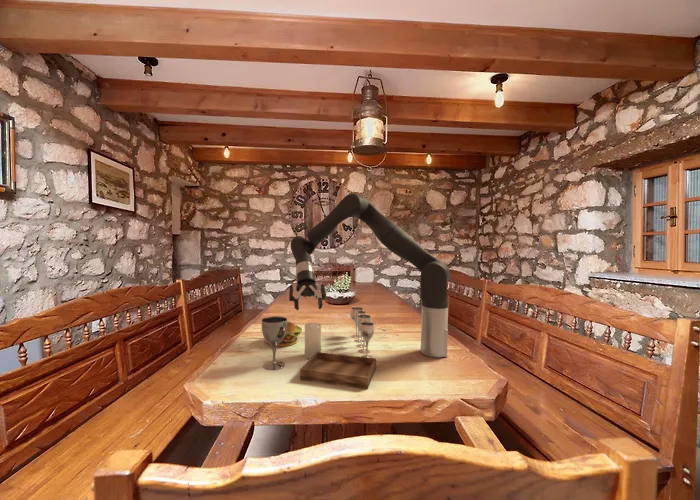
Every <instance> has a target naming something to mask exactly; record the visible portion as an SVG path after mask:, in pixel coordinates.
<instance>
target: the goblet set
mask: <svg viewBox="0 0 700 500" xmlns="http://www.w3.org/2000/svg"><path fill="white" fill-rule="evenodd" d="M349 316H350V319H351V320H352V321H353V322H354V324H355V329H356V331H355V333H356V334H352V335H351V336H350V337H351V338H352V339H354V340H353V342H354V343H358V344H357V345H355V347H356V348H358V350H357V353H359V354H361V355H360V357H367V358H374V357H373V356H372V355H371V354H370V353H371V351H370V350H369V349H368V348H369V343H370V341H371V339H372V338H373V336H374V334H375V325H374V322H372V316H371V315H370V314H369V315H368V314H367V312H366V311H365V310H364V309H363V307H360V306H353V307H351V309H350V312H349Z"/></svg>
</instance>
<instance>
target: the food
mask: <svg viewBox="0 0 700 500" xmlns="http://www.w3.org/2000/svg"><path fill="white" fill-rule="evenodd" d="M302 332H303V329H302V327H299V326H298V325H296V323H293V322H291V321H288V320H287V329H286V334H285V337H284V338H283V339H282V341H281V342H280V343H279V344H278V346H277V348H278V347H279V348H281V347H289V346H293V345H295V344H297V342H298V339H299V336H300V335H301V333H302ZM267 344H268V345H269V346H271V345H270V344H269V343H268V342H267Z"/></svg>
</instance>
